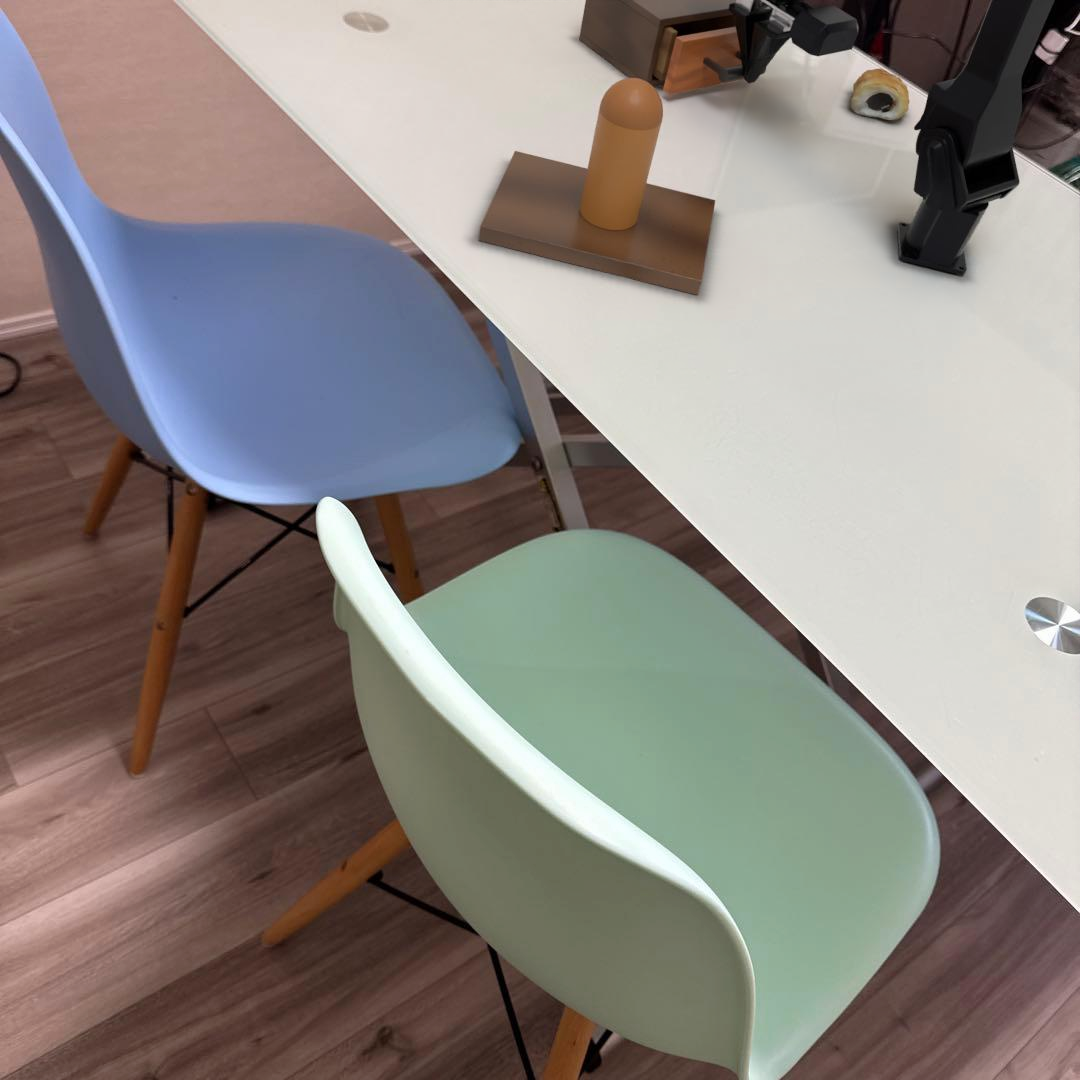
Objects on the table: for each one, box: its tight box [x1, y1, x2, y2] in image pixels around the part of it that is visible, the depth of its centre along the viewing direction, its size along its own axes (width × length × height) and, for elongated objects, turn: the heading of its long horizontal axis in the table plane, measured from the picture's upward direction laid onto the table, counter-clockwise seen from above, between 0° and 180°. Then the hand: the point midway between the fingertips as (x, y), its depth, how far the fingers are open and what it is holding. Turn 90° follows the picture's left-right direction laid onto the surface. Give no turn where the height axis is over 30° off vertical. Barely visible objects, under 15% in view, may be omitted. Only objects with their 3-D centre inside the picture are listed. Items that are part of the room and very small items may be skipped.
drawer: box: [653, 15, 767, 96], centre depth 111 cm, size 16×13×6 cm
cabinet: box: [578, 0, 735, 88], centre depth 114 cm, size 13×15×8 cm
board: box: [478, 150, 716, 296], centre depth 91 cm, size 14×20×2 cm
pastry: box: [850, 68, 910, 121], centre depth 116 cm, size 9×7×4 cm
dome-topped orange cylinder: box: [580, 77, 664, 230], centre depth 85 cm, size 5×5×12 cm
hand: (749, 81), depth 107 cm, fingers closed
